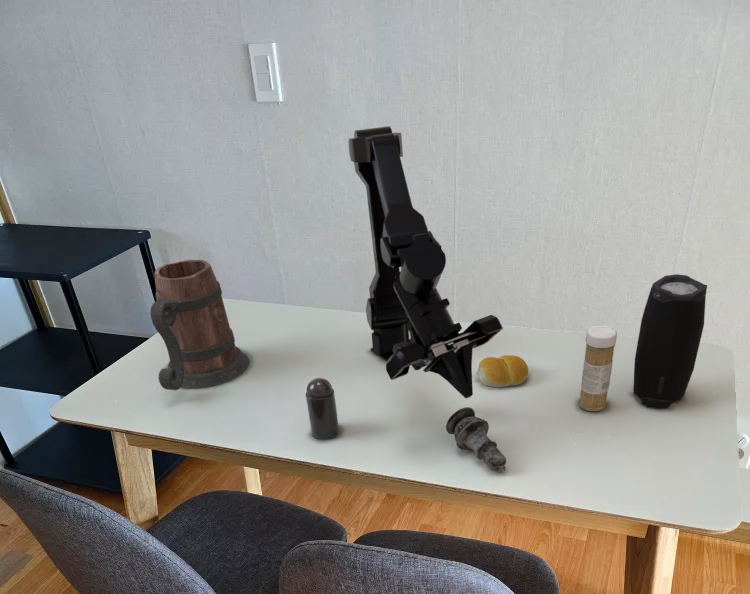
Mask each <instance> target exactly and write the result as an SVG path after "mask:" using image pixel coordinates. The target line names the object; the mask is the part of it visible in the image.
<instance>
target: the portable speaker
mask: <svg viewBox="0 0 750 594" xmlns="http://www.w3.org/2000/svg"><path fill="white" fill-rule="evenodd" d="M707 290H708V285H707V284H704V283H703V282H700V281H698V280H696V279H694V278H691V277H690V276H689V275H687V274H676V273H675V274H669V275H664V276H662V277H660V278H659V279H658V280H656V281H655V282H653V283H652V284H651V287H650V291H649V294H648V298H647V299H646V303H645V306H644V309H643V313H642V317H641V321H640V327H639V332H638V338H637V344H636V349H635V356H634V367H633V387H632V388H633V390H632V391H633V395H636V396H637V398H639V399H640V400H641V403H642V405H643V406H645V407H646V408H650V409H657V410H661V409H664V410H665V409H669V407H671V405H673V404H674V403H677V402H679V401H681V400H683V398H684V396H685V394H686V391H687V389H688V386H689V383H690V381H691V378H692V375H693V372H694V370H695V365H696V361H697V357H698V353H699V348H700V343H701V340H702V335H703V331H704V326H705V315H706V300H707V299H706V297H707V292H708V291H707Z"/></svg>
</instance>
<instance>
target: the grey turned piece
mask: <svg viewBox="0 0 750 594" xmlns="http://www.w3.org/2000/svg"><path fill="white" fill-rule="evenodd" d="M489 429H490V425H489V423H488V420H485V419H483V418H481V417H478V416H476V413H475V410H474V409H473V408H472V407H469V406H468V407H461V408H460V409H457V410H456V411H455V412H453V414H452V415H451V416H449V418H448V419H447V422H446V425H445V430H446V432H447V434H449V435H453V436H454V437H453V438H454V441H455V443H456V447H457V449H460V450H463V451H466V450H471V449H472V451H473V452H474V453H475V454H476V458H477V459H478V460H480V461H483V462H484V463H485V465H486V466H487V467H488V468H489V469H490V470H491V471H494V472H495V471H496V472H497V471H502V472H505V471H506V467H505V466H506V464H507V458H506V456H505V455H504V454H503V453H502V452H501V450H499V448H498V444H497V442H496V441H494V440H491V439H490V437H488V432H489Z"/></svg>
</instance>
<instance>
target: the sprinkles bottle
mask: <svg viewBox="0 0 750 594" xmlns="http://www.w3.org/2000/svg"><path fill="white" fill-rule="evenodd" d="M617 338H618V331H617V329H615V328H614V327H612V326H609V325H593V326H590V327H589V328H588V329H587V330H586V334H585V344H586V345H585V353H584V360H583V367H582V374H581V381H580V382H581V383H580V395H579V400H578V405H579V407H580V408H581V409H583V410H585V411H587V412H600V411H602V410H604V409H605V408H606V407H607V406H608V405H607V404H608V403H607V401H608V400H607V399H608V391H609V390H610V389H609V388H610V384H611V383H610V382H611V376H612V369H613V363H614V362H613V359H614V350H615V347H616V344H617Z"/></svg>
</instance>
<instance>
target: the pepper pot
mask: <svg viewBox="0 0 750 594" xmlns="http://www.w3.org/2000/svg"><path fill="white" fill-rule="evenodd" d="M305 399H306V405H307V411H308V418H309V424H310V431H311V435H312V437H313V438H315V439H317V440H322V441H323V440H325V441H326V440H331V439H333V438H335V437H336V436H338V435H339V433H340V426H339V417H338V411H337V402H336V393H335V389H334V388H333V385H332V384H331V382H330V380H327V379H326V378H324V377H315V378H313V379H311V380H310V381H309V382H308V383H307V387H306V391H305Z"/></svg>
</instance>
